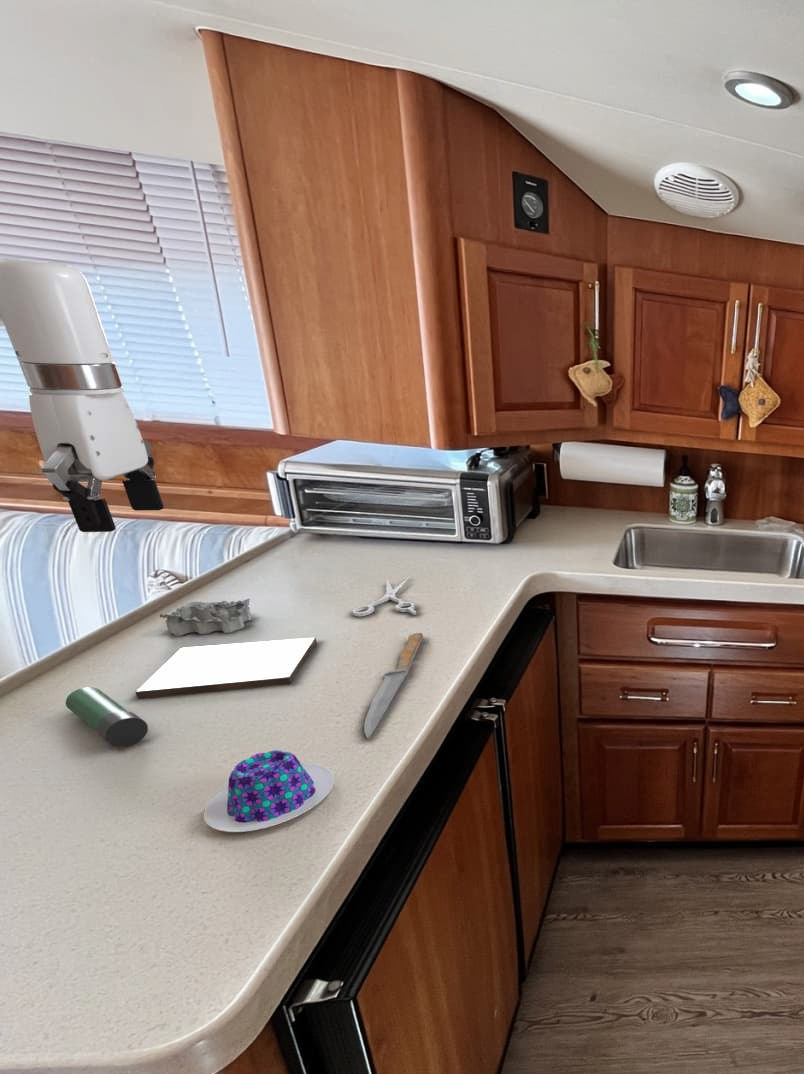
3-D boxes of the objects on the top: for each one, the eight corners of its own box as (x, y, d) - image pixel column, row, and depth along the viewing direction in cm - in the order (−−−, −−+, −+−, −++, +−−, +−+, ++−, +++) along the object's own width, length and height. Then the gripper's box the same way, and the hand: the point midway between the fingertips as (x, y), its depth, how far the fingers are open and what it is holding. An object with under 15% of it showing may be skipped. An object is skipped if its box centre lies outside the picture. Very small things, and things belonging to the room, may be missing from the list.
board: (137, 699, 91) (135, 691, 90) (183, 654, 102) (181, 647, 102) (291, 684, 97) (289, 677, 97) (317, 643, 109) (315, 637, 108)
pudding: (317, 755, 82) (308, 721, 80) (350, 800, 76) (341, 764, 74) (194, 799, 74) (181, 763, 72) (219, 854, 67) (205, 815, 65)
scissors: (349, 616, 117) (368, 577, 134) (350, 620, 118) (369, 581, 134) (415, 611, 121) (426, 574, 138) (416, 615, 122) (426, 577, 138)
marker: (67, 714, 86) (54, 690, 85) (106, 701, 89) (94, 677, 88) (112, 752, 80) (100, 727, 78) (153, 736, 83) (141, 712, 81)
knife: (403, 634, 112) (422, 632, 113) (404, 639, 112) (423, 638, 113) (350, 737, 85) (376, 734, 86) (352, 744, 86) (378, 741, 87)
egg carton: (162, 637, 107) (154, 615, 105) (187, 618, 113) (180, 597, 112) (238, 633, 110) (232, 612, 108) (258, 615, 116) (252, 595, 115)
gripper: (85, 371, 81) (131, 503, 87) (-33, 384, 65) (34, 541, 72) (158, 374, 83) (198, 502, 89) (60, 387, 68) (117, 540, 74)
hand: (125, 519), depth 81 cm, fingers open, 9 cm apart
